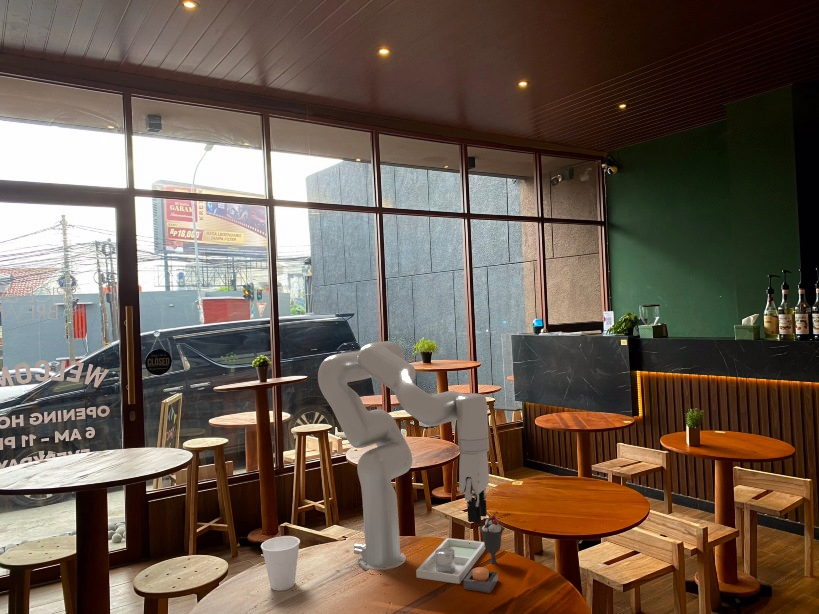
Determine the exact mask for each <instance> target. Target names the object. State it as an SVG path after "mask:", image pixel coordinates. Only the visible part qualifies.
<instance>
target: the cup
mask: <svg viewBox="0 0 819 614" xmlns="http://www.w3.org/2000/svg"><path fill="white" fill-rule="evenodd" d="M300 543H301V540H300V538H298V537H296V536H291V535H283V536H277V537H273V538H269V539H267V540H265V541H264V542H262V543H261V545H260V548H261V550H262V554H263V559H264V562H265V566H266V567H265V568H266V572H267V576H268V582H269V586H270V588H271V589H272V590H273V591H277V592H282V591H286V590H289V589H292V587H293V586H294V585H295V582H296V575H297V565H298V556H299V548H300Z"/></svg>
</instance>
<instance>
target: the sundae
mask: <svg viewBox="0 0 819 614" xmlns="http://www.w3.org/2000/svg"><path fill="white" fill-rule="evenodd" d="M498 513H499V512H498V511H495V513H493V515H492V516H491V517H488V518H486V517H483V518H482V519H483V520H482V526H479V528H478V529H479V531H480V533H481V534H482V539H483V542H484V545H485V548H486V549H485V551H487V552H488V553H489V554H490V558H491V559H490V562H489V564H490V565H497V564H498V562H497V559H496V555H497V554H498V553H499V551H500V550H501V545H502V534H503V532H504V530H505V528H506V527H504V526H502V525H501V524H500V523H499V521H498V520H497V517H496V515H497V514H498Z"/></svg>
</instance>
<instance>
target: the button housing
mask: <svg viewBox="0 0 819 614" xmlns="http://www.w3.org/2000/svg"><path fill="white" fill-rule="evenodd" d="M473 569H474V568H471V569H470V571H469V572H468V573H467V575H466V576H465V577H464V579H463V589H464V590H470V591H477V592H483V593H489V594H490V593H491V592H492V591H493V590H494V588H495V586H496V584H497V583H498V581H499V578H498V576H499V574H498V571H497V572H495V571H490V570H489V579H488V581H487V582H485V581H478V580H473V576H472V570H473Z"/></svg>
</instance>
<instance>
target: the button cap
mask: <svg viewBox="0 0 819 614" xmlns="http://www.w3.org/2000/svg"><path fill="white" fill-rule="evenodd" d="M472 569H473V570H472ZM472 569H471V570H472V576H473V580H478V581H485V582H487V581H488V579H489V571H490V570H489V568H487V567H485V566H484V567H483V566H478V567H475V568H472Z"/></svg>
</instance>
